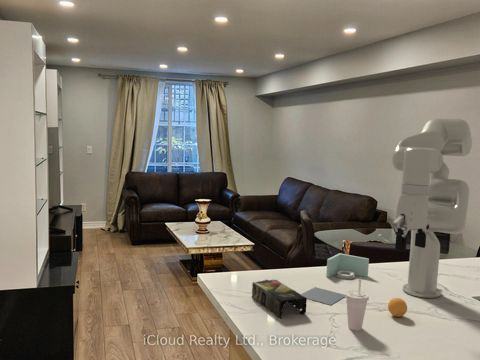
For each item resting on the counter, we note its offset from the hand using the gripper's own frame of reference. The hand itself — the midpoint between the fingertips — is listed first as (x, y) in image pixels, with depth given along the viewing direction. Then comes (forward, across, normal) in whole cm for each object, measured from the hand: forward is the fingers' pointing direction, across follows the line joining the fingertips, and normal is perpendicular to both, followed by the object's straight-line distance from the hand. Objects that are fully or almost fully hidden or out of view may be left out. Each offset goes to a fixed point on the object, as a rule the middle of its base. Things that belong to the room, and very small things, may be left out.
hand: (410, 248), depth 137 cm
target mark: (+21, +7, -27) cm, 35 cm away
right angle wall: (+22, -18, -37) cm, 46 cm away
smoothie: (+22, +18, -4) cm, 29 cm away
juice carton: (+22, +25, -28) cm, 44 cm away
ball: (+19, 0, -3) cm, 19 cm away
